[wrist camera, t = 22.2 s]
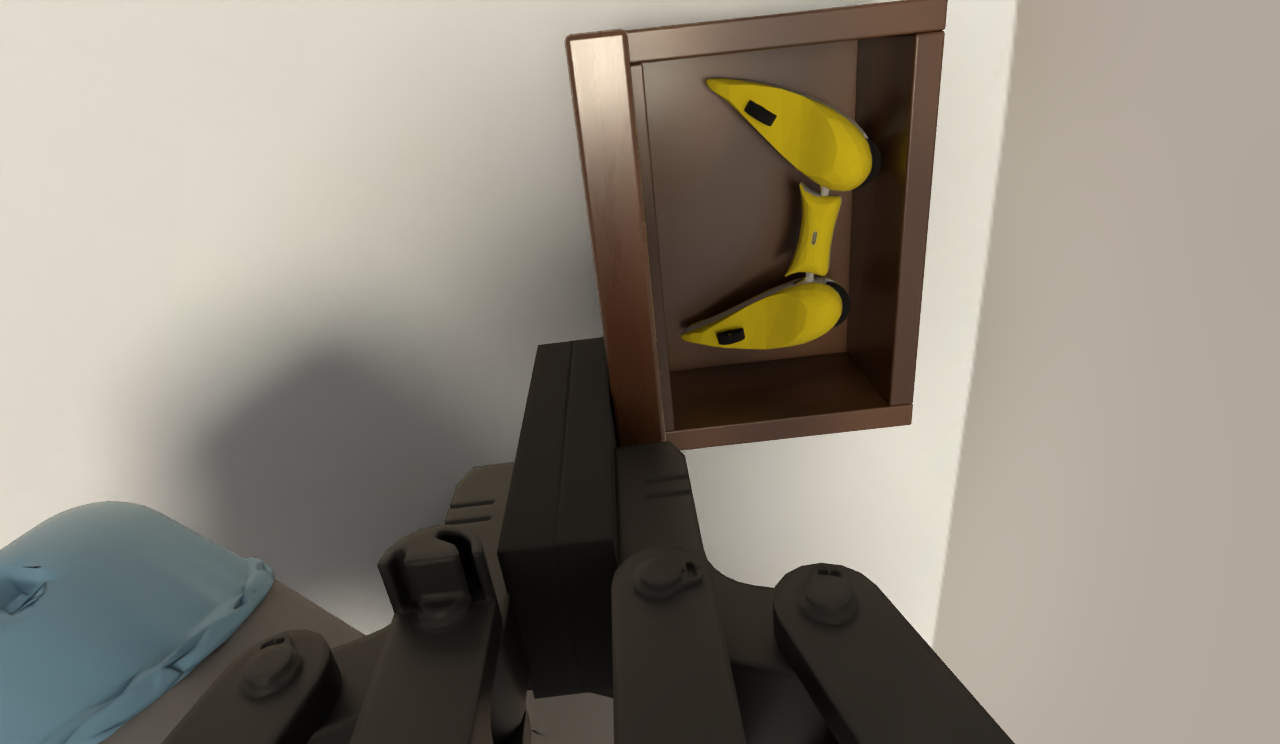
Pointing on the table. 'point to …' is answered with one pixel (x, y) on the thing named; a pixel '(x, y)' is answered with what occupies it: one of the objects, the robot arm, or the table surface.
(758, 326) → the yellow curved piece
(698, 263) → the chest
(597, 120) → the lid
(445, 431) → the table surface
